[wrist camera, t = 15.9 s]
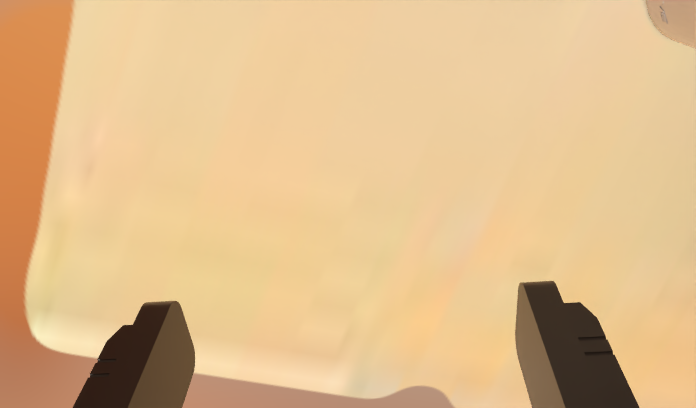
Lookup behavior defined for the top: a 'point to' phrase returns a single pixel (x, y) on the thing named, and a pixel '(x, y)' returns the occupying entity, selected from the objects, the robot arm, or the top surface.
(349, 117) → the top surface
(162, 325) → the robot arm
